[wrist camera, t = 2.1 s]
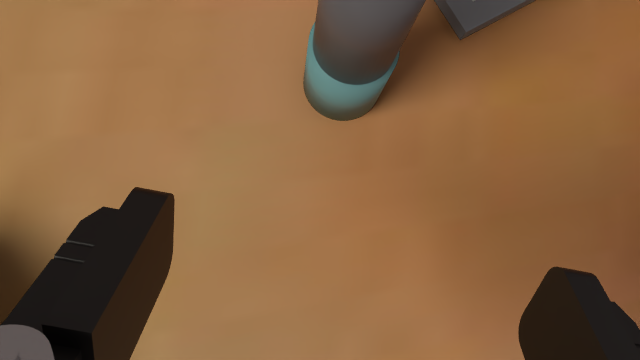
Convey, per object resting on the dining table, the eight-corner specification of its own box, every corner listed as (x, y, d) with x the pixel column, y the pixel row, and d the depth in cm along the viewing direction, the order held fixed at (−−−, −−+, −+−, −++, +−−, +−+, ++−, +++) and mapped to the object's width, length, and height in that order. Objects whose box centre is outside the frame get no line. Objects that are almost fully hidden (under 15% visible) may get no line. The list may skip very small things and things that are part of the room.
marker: (289, 68, 30) (301, -150, 15) (355, 35, 31) (430, -204, 16) (328, 134, 29) (382, -24, 14) (394, 98, 30) (512, -87, 15)
